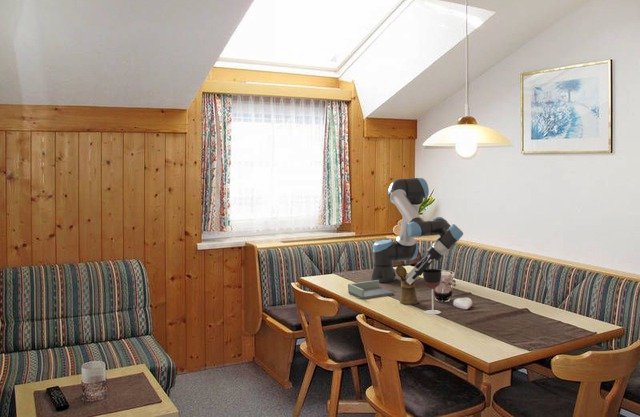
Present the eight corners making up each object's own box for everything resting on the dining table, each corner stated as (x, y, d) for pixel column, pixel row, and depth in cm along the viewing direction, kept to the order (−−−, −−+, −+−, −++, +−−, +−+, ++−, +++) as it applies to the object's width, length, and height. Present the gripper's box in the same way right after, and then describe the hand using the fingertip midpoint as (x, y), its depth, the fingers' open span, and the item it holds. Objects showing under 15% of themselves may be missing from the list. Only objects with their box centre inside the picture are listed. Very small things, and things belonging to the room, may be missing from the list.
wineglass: (421, 310, 291) (420, 269, 289) (439, 309, 291) (438, 268, 289) (426, 314, 283) (425, 273, 281) (444, 313, 283) (443, 272, 281)
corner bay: (378, 288, 338) (378, 279, 337) (393, 294, 323) (393, 285, 323) (348, 293, 330) (348, 284, 329) (362, 299, 315) (362, 290, 315)
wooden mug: (407, 297, 316) (406, 263, 314) (421, 303, 303) (420, 268, 302) (392, 299, 312) (391, 265, 311) (405, 305, 300) (405, 270, 298)
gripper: (444, 260, 290) (413, 290, 293) (441, 251, 314) (413, 279, 318) (433, 249, 290) (402, 280, 294) (430, 241, 315) (402, 269, 318)
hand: (407, 279), depth 306 cm, fingers open, 13 cm apart
